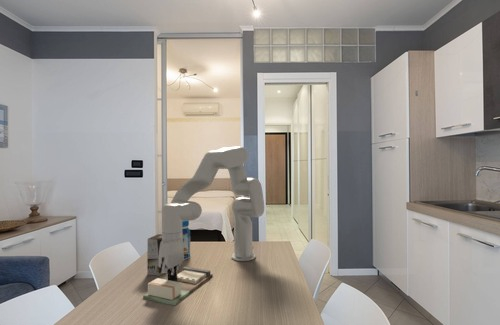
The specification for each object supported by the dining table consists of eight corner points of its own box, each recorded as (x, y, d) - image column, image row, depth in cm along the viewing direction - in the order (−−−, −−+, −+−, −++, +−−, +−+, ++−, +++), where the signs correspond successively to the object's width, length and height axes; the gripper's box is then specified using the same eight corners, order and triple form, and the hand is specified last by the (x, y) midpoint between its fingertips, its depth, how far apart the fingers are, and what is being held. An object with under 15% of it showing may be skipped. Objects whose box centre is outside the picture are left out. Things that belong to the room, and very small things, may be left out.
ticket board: (185, 271, 121) (185, 265, 121) (212, 276, 115) (212, 269, 115) (143, 298, 96) (143, 290, 97) (174, 305, 91) (174, 297, 91)
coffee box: (159, 276, 116) (159, 239, 117) (146, 275, 118) (146, 238, 118) (170, 268, 125) (170, 234, 125) (157, 267, 126) (157, 233, 127)
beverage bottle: (193, 256, 141) (193, 219, 141) (182, 261, 134) (181, 222, 134) (182, 254, 145) (182, 217, 146) (170, 258, 138) (170, 220, 138)
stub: (157, 288, 101) (157, 278, 101) (181, 293, 97) (181, 282, 97) (147, 294, 97) (147, 283, 97) (172, 299, 93) (172, 288, 93)
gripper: (176, 230, 110) (176, 275, 109) (150, 239, 96) (150, 290, 96) (191, 232, 107) (191, 277, 107) (167, 242, 93) (167, 294, 93)
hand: (172, 283), depth 101 cm, fingers closed
